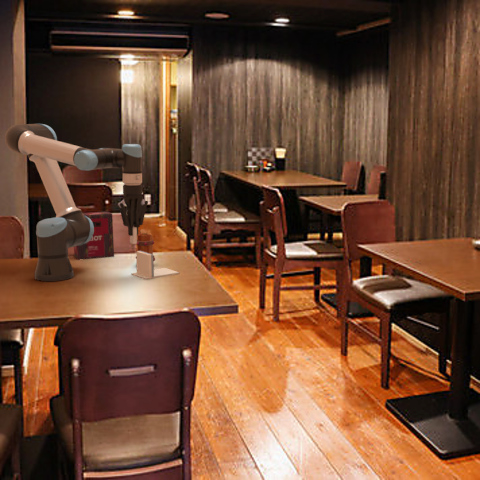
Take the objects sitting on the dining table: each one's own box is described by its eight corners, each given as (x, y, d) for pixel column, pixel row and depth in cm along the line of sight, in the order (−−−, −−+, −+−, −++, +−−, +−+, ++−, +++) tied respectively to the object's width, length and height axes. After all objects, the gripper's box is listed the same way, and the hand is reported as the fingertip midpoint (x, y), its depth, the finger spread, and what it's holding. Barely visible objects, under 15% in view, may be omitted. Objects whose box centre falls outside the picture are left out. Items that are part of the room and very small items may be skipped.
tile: (137, 273, 270) (136, 251, 269) (141, 272, 272) (140, 250, 270) (149, 277, 263) (148, 255, 261) (153, 276, 264) (153, 254, 262)
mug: (156, 267, 283) (155, 233, 280) (137, 268, 281) (136, 233, 278) (152, 260, 297) (151, 227, 294) (134, 261, 295) (132, 228, 292)
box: (78, 259, 300) (75, 216, 296) (74, 256, 308) (72, 213, 304) (114, 256, 307) (112, 213, 303) (109, 253, 314) (107, 211, 311)
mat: (131, 274, 270) (131, 273, 270) (164, 269, 280) (164, 267, 280) (145, 279, 262) (144, 278, 261) (179, 273, 271) (179, 272, 271)
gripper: (123, 185, 252) (124, 246, 256) (151, 183, 260) (152, 242, 265) (113, 184, 257) (114, 243, 262) (141, 182, 266) (142, 240, 270)
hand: (133, 243), depth 263 cm, fingers closed
